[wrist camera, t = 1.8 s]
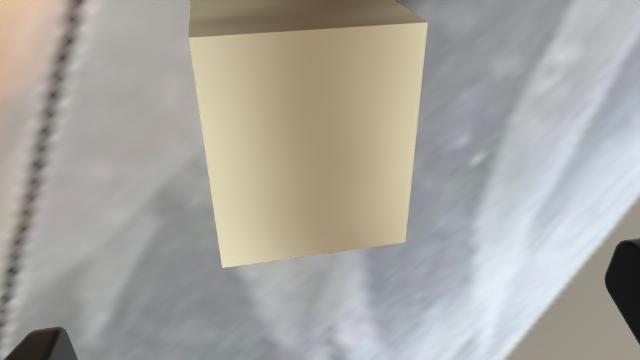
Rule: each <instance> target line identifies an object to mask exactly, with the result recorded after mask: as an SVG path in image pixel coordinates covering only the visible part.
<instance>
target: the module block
mask: <svg viewBox="0 0 640 360" xmlns="http://www.w3.org/2000/svg"><path fill="white" fill-rule="evenodd" d="M427 24H428V22H426V21H425V20H423V19H422V18H421V17H419V16H418V15H416V14H415V13H413V12H412V11H410V10H409V9H407V8H406V7H404V6H403V5H401V4H400V3H398V2H397V1H395V0H191V8H190V24H189V43H190V50H191V57H192V64H193V71H194V77H195V84H196V91H197V98H198V105H199V112H200V119H201V125H202V132H203V139H204V146H205V153H206V160H207V167H208V173H209V180H210V187H211V194H212V201H213V208H214V214H215V221H216V228H217V235H218V242H219V249H220V256H221V262H222V268H225V267H232V266H239V265H246V264H253V263H261V262H268V261H275V260H282V259H289V258H296V257H304V256H311V255H318V254H325V253H332V252H339V251H346V250H354V249H361V248H368V247H375V246H382V245H389V244H397V243H404V242H405V239H406V229H407V219H408V210H409V200H410V190H411V180H412V170H413V161H414V151H415V141H416V131H417V122H418V112H419V102H420V92H421V82H422V73H423V63H424V53H425V43H426V33H427Z"/></svg>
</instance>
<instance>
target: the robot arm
mask: <svg viewBox="0 0 640 360" xmlns="http://www.w3.org/2000/svg"><path fill="white" fill-rule="evenodd" d="M605 285H606V288H607V290H608V292H609V294H610V296H611V297H612V299H613V301H614V302H615V304H616V306H617V308H618V309H619V311H620V313H621V314H622V316H623V318H624V319H625V321H626V323H627V324H628V326H629V328H630V329H631V331H632V333H633V335H634V336H635V338H636V340H637V341H638V343H639V345H640V238H638V239H630V240H624V241H621V242H620V243H619V244H618V245H617V246H616V248H615V251H614V253H613V256H612V259H611V262H610V264H609V267H608V269H607V271H606V274H605ZM4 360H78V359H77V356H76V354H75V351H74V349H73V346H72V344H71V341H70V339H69V336H68V334H67V332H66V330H65V329H64V328H62V327H53V328H46V329H40V330H35V331H32V332H31V333H29V334H28V335H27V336H26V337H25V338H24V339H23V340H22V341H21V342H20V343H19V344H18V345H17V346H16V347H15V348H14V349H13V351H12V352H11V353H10V354H9V355H8V356H7V357H6V358H5V359H4Z"/></svg>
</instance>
